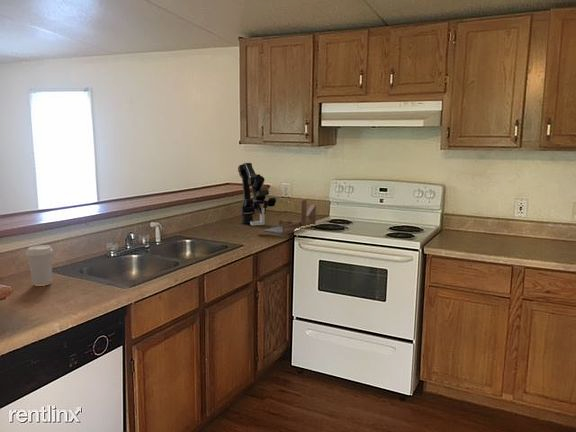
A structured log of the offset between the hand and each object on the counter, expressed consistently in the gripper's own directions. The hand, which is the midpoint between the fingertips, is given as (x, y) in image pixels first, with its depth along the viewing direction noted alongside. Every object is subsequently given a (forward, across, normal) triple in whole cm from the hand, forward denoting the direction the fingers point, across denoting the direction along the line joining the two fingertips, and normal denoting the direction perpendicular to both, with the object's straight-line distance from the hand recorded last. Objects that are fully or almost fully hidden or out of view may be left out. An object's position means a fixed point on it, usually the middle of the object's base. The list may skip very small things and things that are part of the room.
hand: (263, 213), depth 285 cm
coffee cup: (+53, -112, -36) cm, 129 cm away
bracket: (+3, -3, +6) cm, 8 cm away
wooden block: (+1, +33, +16) cm, 37 cm away
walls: (+4, +14, +13) cm, 20 cm away
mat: (+4, +14, +13) cm, 20 cm away
